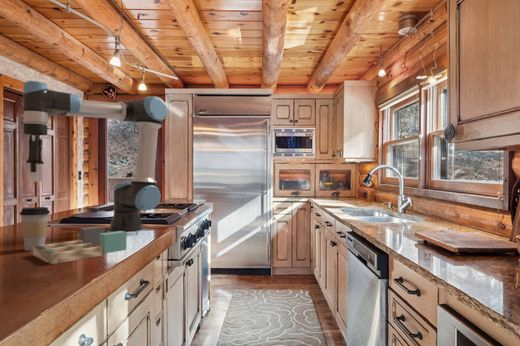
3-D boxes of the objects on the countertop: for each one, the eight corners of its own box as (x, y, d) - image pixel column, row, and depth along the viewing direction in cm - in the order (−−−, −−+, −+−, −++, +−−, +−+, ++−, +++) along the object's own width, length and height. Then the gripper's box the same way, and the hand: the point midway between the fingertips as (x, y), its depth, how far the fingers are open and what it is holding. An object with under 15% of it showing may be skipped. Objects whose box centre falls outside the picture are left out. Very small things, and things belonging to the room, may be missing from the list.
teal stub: (120, 248, 129) (121, 230, 129) (126, 249, 127) (126, 232, 127) (99, 251, 123) (99, 233, 123) (104, 253, 121) (104, 234, 121)
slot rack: (80, 248, 129) (80, 239, 129) (102, 255, 117) (102, 245, 117) (32, 255, 117) (33, 245, 117) (51, 264, 105) (51, 253, 106)
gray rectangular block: (100, 242, 140) (100, 226, 140) (104, 243, 138) (104, 227, 138) (79, 245, 134) (79, 228, 134) (83, 246, 132) (84, 229, 132)
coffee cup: (24, 247, 129) (24, 207, 129) (52, 245, 132) (53, 206, 132) (14, 252, 120) (15, 209, 120) (45, 251, 123) (46, 209, 123)
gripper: (27, 127, 138) (27, 180, 138) (18, 118, 116) (18, 182, 116) (49, 128, 141) (49, 180, 141) (44, 120, 119) (44, 181, 119)
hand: (35, 181), depth 129 cm, fingers open, 13 cm apart
